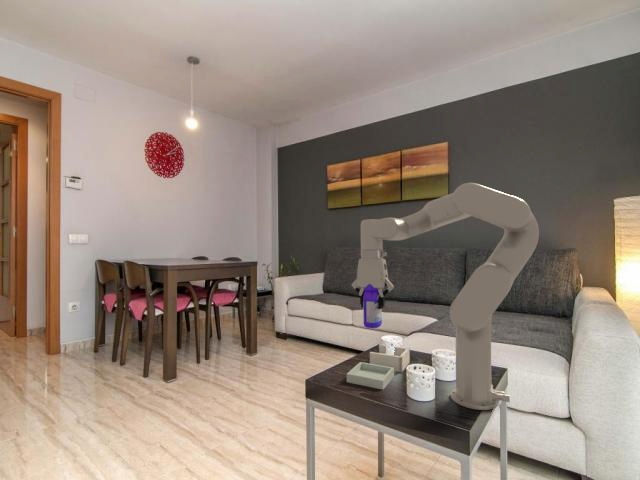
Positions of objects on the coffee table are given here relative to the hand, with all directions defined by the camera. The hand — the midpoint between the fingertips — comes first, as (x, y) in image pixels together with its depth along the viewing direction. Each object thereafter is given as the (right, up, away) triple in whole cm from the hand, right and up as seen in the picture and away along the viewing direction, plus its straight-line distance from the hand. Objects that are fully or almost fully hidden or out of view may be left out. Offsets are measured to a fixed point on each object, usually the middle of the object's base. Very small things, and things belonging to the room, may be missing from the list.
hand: (372, 307), depth 116 cm
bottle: (0, -7, 0) cm, 7 cm away
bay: (+9, -24, +12) cm, 28 cm away
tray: (-1, -24, -1) cm, 24 cm away
